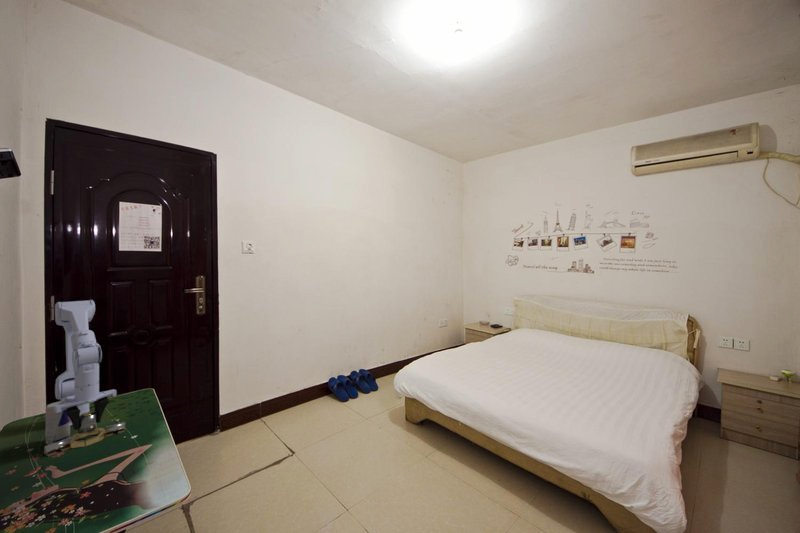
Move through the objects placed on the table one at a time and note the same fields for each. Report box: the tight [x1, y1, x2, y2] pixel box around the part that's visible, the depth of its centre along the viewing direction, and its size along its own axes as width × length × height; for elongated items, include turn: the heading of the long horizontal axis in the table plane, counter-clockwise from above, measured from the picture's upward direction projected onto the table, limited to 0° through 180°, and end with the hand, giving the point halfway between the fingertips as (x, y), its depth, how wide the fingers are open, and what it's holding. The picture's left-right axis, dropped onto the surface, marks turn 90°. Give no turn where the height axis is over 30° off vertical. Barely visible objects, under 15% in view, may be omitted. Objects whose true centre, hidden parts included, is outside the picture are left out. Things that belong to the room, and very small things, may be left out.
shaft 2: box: [104, 421, 126, 438], centre depth 107 cm, size 5×3×3 cm
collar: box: [68, 427, 107, 449], centre depth 102 cm, size 9×9×2 cm
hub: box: [76, 411, 98, 434], centre depth 102 cm, size 4×4×5 cm
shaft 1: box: [43, 437, 71, 457], centre depth 96 cm, size 5×3×3 cm
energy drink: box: [45, 400, 71, 445], centre depth 102 cm, size 5×5×12 cm
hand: (87, 425), depth 102 cm, fingers closed on hub, 4 cm apart
